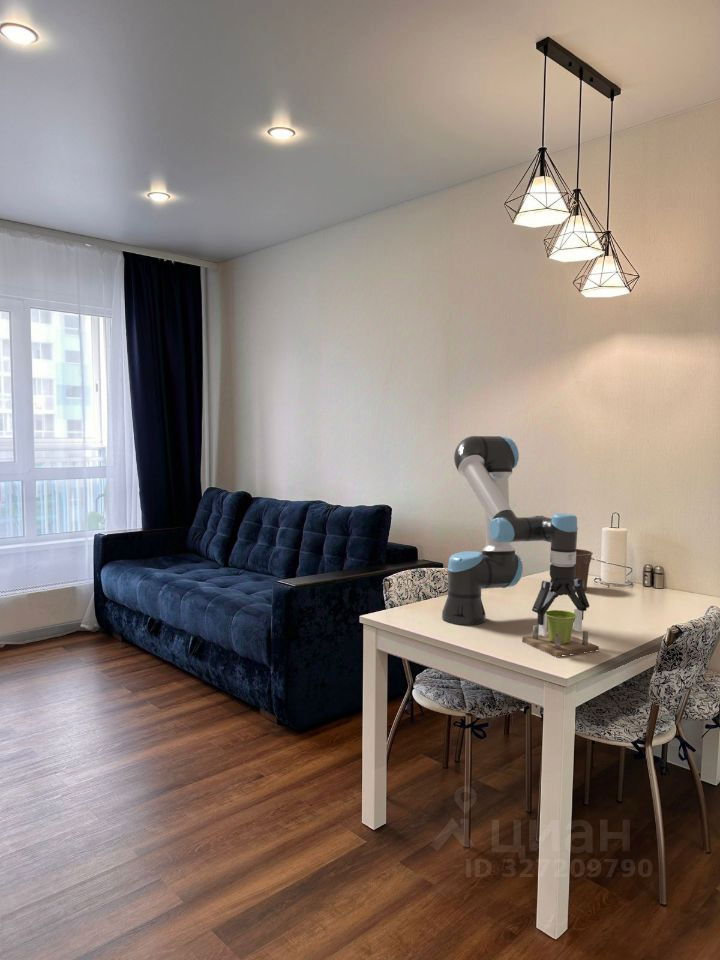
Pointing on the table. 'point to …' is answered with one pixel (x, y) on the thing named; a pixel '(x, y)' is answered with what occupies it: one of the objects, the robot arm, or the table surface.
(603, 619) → the table surface
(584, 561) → the plant pot
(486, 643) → the table surface
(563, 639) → the plant pot
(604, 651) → the table surface
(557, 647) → the stand
